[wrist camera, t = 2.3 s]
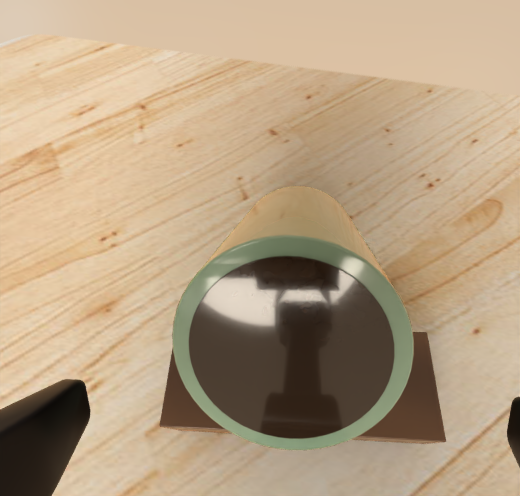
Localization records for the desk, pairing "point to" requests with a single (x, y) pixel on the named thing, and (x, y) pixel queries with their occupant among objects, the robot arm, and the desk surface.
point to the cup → (293, 327)
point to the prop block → (387, 430)
